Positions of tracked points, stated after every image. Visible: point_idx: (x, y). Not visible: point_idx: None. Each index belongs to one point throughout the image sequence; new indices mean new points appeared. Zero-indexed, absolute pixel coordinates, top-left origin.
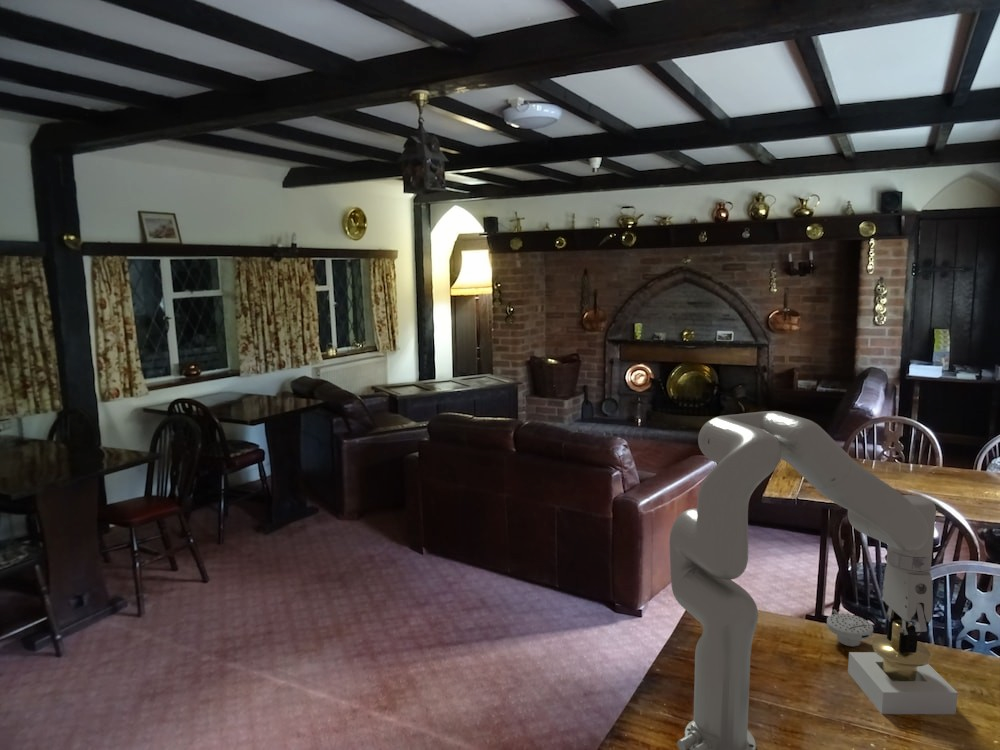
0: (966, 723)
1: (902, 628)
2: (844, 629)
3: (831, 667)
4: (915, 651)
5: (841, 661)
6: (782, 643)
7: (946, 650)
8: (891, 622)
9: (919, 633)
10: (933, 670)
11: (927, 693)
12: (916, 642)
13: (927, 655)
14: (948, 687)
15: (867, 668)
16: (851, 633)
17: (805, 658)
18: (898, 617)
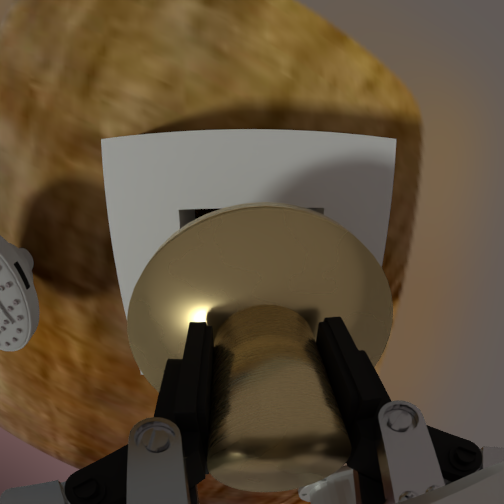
0: (361, 109)
1: (356, 484)
2: (19, 333)
3: (114, 335)
4: (340, 321)
5: (81, 301)
6: (51, 380)
7: (19, 4)
8: (207, 467)
9: (420, 414)
10: (244, 136)
11: (384, 246)
12: (359, 356)
13: (349, 250)
14: (367, 151)
15: None
16: (29, 321)
17: (92, 368)
18: (187, 471)
